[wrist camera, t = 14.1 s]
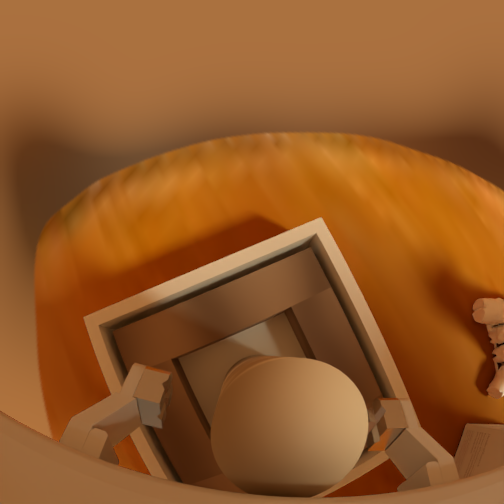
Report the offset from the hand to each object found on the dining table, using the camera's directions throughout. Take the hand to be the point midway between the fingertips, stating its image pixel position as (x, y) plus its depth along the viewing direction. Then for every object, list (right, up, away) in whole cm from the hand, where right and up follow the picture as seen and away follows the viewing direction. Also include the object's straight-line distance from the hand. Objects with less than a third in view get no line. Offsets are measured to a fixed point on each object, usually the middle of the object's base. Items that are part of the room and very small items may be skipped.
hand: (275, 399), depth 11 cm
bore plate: (-1, -3, +8) cm, 8 cm away
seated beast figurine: (+23, -2, +10) cm, 25 cm away
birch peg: (-1, -3, +8) cm, 8 cm away
